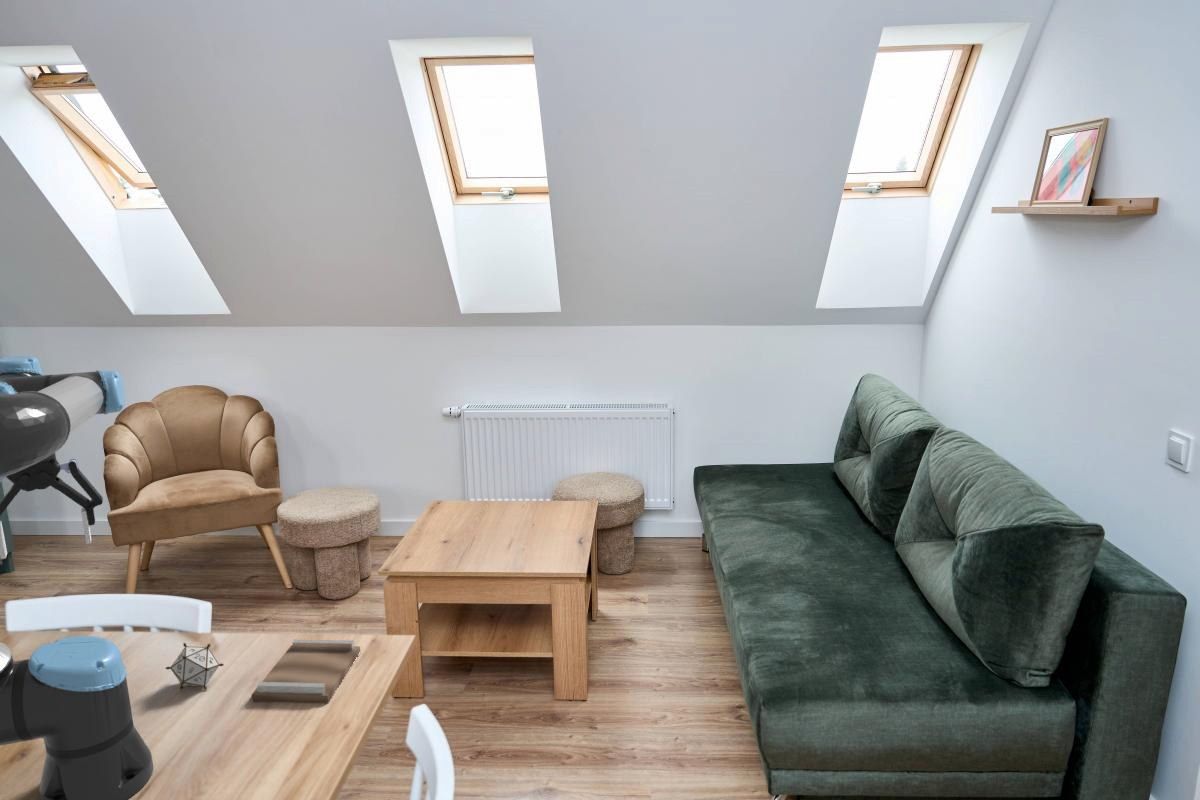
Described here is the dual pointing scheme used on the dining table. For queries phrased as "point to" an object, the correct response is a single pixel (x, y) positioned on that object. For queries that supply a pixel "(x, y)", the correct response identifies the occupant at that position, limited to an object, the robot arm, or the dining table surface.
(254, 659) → the dining table surface
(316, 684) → the loading pallet
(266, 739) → the dining table surface
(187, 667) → the game die
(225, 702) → the dining table surface
